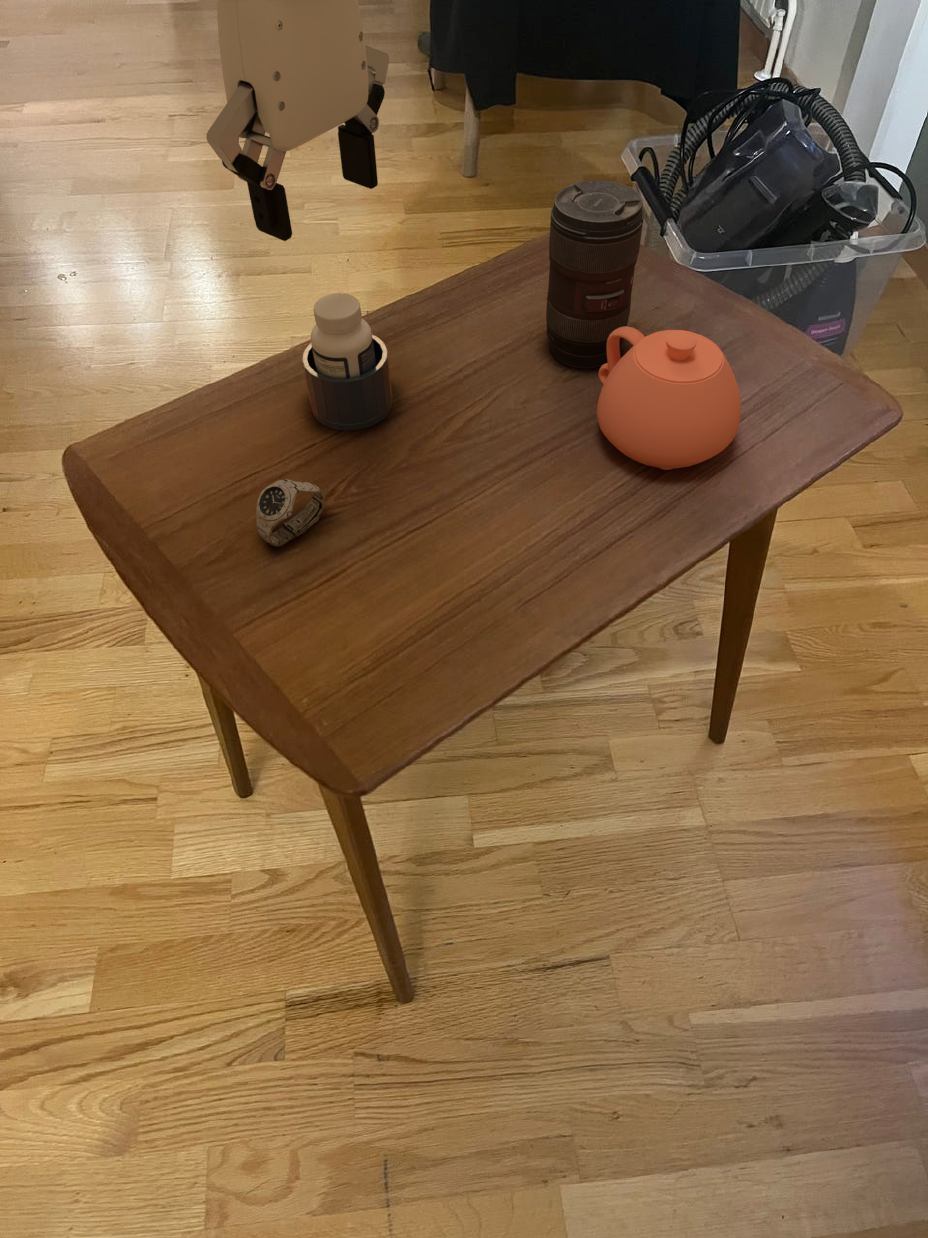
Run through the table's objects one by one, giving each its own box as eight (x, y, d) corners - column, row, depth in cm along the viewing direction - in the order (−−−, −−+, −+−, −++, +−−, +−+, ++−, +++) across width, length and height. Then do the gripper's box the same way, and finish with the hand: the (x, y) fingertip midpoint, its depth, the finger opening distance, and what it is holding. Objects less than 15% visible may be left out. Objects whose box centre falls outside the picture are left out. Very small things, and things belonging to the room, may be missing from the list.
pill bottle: (366, 374, 87) (354, 281, 79) (388, 406, 84) (378, 312, 76) (313, 390, 86) (296, 297, 78) (334, 424, 83) (318, 330, 75)
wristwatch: (253, 538, 75) (240, 495, 71) (312, 500, 78) (302, 456, 74) (279, 561, 73) (267, 517, 70) (338, 521, 76) (330, 477, 72)
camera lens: (636, 334, 91) (658, 186, 80) (609, 381, 87) (628, 231, 75) (560, 316, 94) (571, 169, 82) (530, 360, 89) (537, 212, 77)
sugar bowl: (670, 504, 76) (692, 407, 68) (552, 425, 83) (559, 327, 75) (761, 438, 81) (790, 340, 73) (642, 368, 88) (657, 271, 80)
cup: (294, 410, 85) (284, 361, 81) (348, 369, 89) (341, 320, 85) (356, 442, 82) (348, 392, 78) (409, 398, 86) (404, 348, 82)
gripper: (330, -103, 63) (356, 153, 76) (134, -35, 54) (202, 240, 67) (415, -85, 60) (426, 177, 73) (222, -10, 51) (275, 272, 64)
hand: (319, 207), depth 70 cm, fingers open, 9 cm apart
